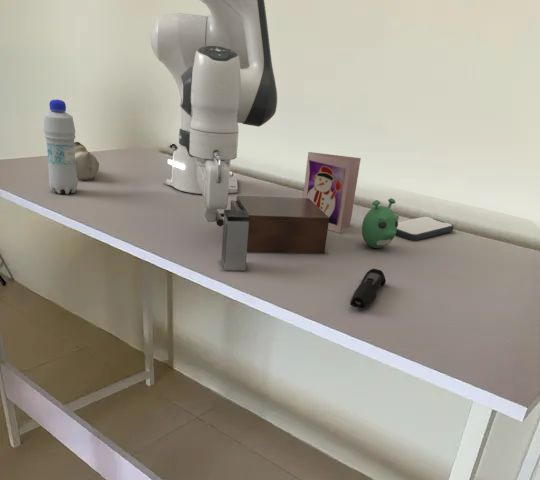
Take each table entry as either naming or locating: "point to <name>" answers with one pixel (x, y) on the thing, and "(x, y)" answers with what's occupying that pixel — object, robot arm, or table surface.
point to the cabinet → (284, 224)
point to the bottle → (60, 148)
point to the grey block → (235, 240)
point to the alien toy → (380, 225)
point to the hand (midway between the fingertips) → (210, 220)
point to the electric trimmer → (368, 288)
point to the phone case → (422, 228)
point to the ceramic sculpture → (85, 162)
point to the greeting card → (332, 186)
